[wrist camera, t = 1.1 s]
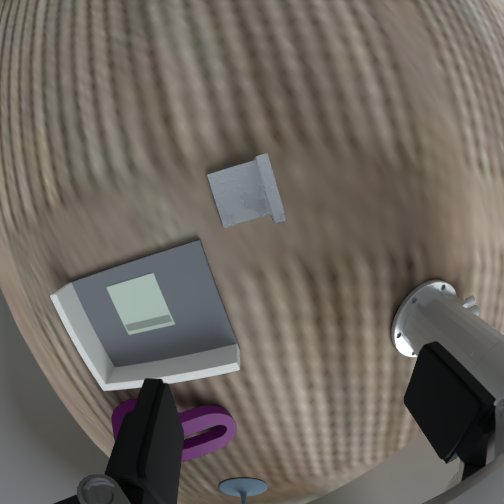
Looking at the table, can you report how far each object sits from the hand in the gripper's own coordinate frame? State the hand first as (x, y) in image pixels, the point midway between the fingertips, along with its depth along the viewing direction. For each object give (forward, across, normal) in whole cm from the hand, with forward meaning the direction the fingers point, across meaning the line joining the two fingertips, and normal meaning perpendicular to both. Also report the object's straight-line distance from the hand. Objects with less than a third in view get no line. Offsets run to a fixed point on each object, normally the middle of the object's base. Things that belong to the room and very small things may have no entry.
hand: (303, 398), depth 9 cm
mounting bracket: (+24, +13, +28) cm, 40 cm away
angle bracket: (+24, +1, -5) cm, 24 cm away
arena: (+24, +14, +9) cm, 29 cm away
